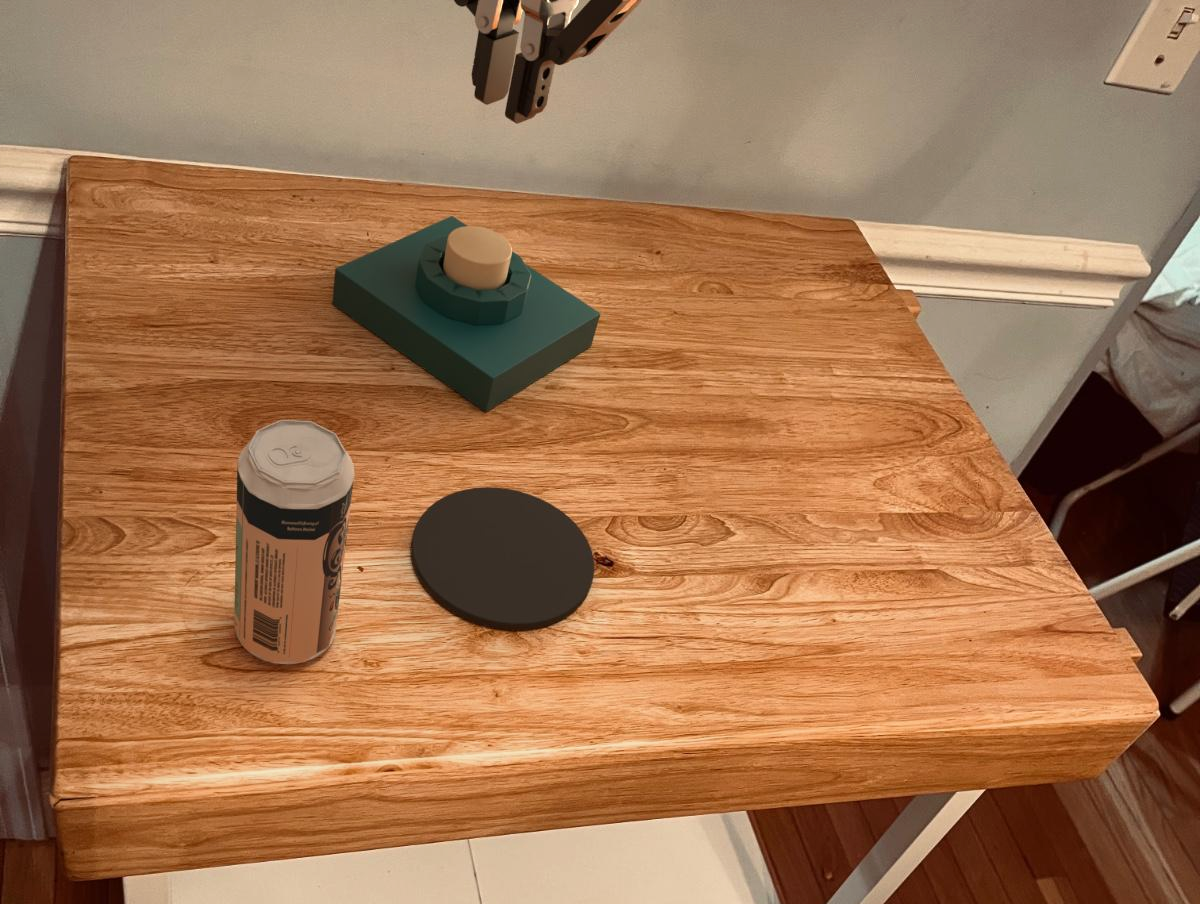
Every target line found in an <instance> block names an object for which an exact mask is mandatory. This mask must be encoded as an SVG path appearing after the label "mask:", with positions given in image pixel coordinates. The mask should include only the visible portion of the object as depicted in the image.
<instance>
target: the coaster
mask: <svg viewBox="0 0 1200 904" xmlns="http://www.w3.org/2000/svg"><path fill="white" fill-rule="evenodd" d="M410 555H411V563H412V567H413V569H414V572H415V574H416V576H417V578H418V580H419V582H420V583H421V585H422V586H423V588H424V589H425V591H427V593H428V594H429V595H430V596H431V597H432V598H433V599H434V600H435V601H436V602H437V603H438V604H439V605H441V606H442V607H443V608H445V609H446V610H448V611H449V612H451V613H452V614H454V615H456V616H458V617H460V618H462V619H464V620H466V621H468V622H471V623H473V624H477V625H480V626H482V627H487V628H492V629H495V630H503V631H505V630H506V631H527V630H528V631H529V630H536V629H540V628H545V627H548V626H552V625H554V624H558V622H560V621H562V620H564V619H566V618H568V617H569V616H570V615H572V614H573V613H574V612H575V611H576V610H577V609H579V608H580V607H581V606H582V604H583V602H584V601H585V600H586V599H587V596H588V594H589V592H590V590H591V587H592V585H593V581H594V577H595V566H596V565H595V558H594V553H593V550H592V547H591V545H590V543H589V541H588V539H587V537H586V536H585V534H584V532H583V530H581V528H580V527H579V526H578V525H577V523H575V521H574V520H572V518H571V517H570V516H569V515H567V513H565V512H563V511H562V510H561V509H559V508H557V507H556V506H555V505H553V504H552V503H549V502H548V501H546V500H544V499H542V498H541V497H540V498H539V497H537V496H535V495H532V494H530V493H527V492H523V491H521V490H520V491H519V490H515V489H512V488H511V489H510V488H503V487H492V486H490V487H488V486H484V487H474V488H473V487H472V488H467V489H463V490H459V491H456V492H452V493H450V494H447V495H446V496H443V497H442V498H439V499H438V500H436V501H435V502H434V503H432V504H431V505H430V506H429V507H428V508H427V509H426V510H425V511H424V512H423V513H422V514H421V516H420V517H419V519H418V520H417V522H416V524H415V527H414V529H413V533H412V538H411V545H410Z"/></svg>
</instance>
